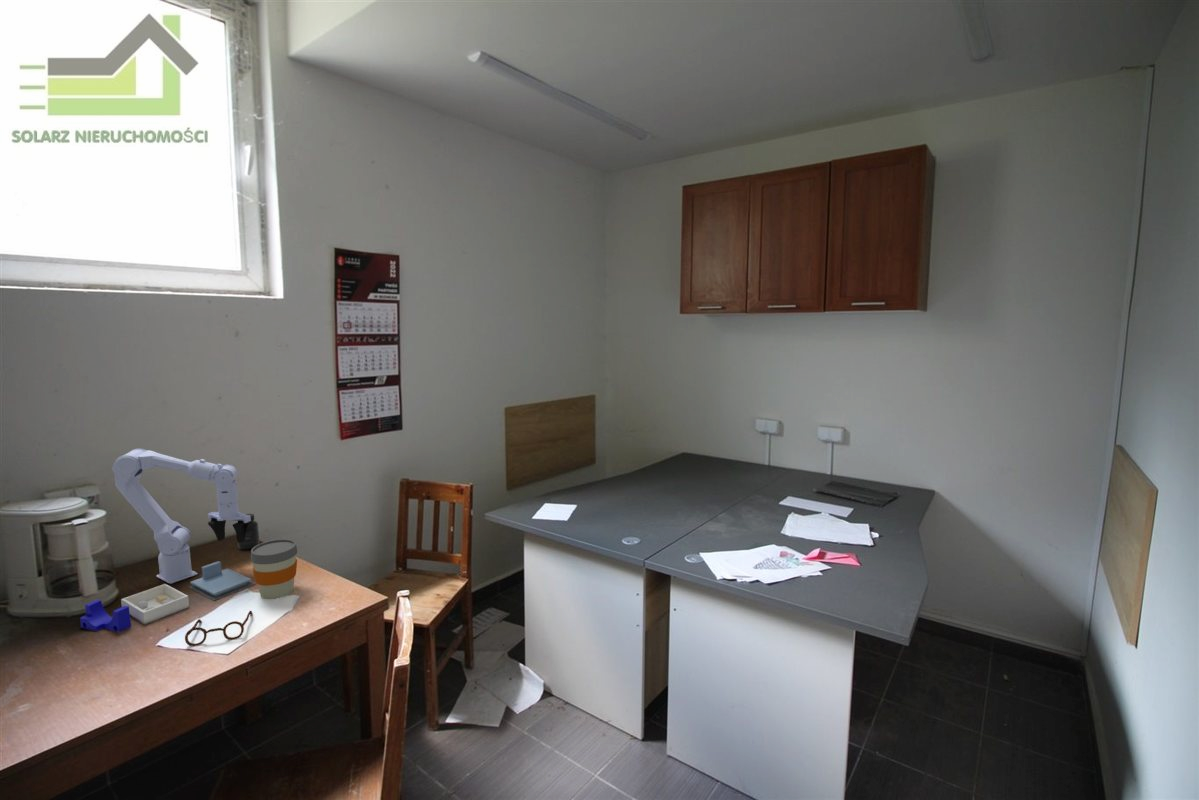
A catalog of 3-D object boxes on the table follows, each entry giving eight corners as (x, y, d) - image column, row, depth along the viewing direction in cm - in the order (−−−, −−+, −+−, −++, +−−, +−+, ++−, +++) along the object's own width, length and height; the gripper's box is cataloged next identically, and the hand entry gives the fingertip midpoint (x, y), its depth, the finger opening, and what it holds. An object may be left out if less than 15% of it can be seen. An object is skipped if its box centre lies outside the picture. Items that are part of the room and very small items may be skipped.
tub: (122, 610, 161) (120, 599, 160) (166, 594, 170) (165, 583, 170) (144, 624, 154) (143, 612, 153) (189, 606, 163) (188, 595, 163)
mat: (189, 588, 174) (189, 586, 174) (229, 573, 185) (229, 572, 184) (214, 601, 167) (214, 599, 167) (255, 584, 177) (254, 583, 177)
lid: (190, 586, 174) (189, 569, 174) (228, 572, 184) (226, 557, 183) (214, 598, 168) (212, 581, 167) (251, 583, 177) (250, 567, 176)
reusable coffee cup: (303, 580, 181) (300, 537, 179) (295, 599, 169) (292, 553, 167) (259, 585, 177) (256, 541, 175) (248, 605, 165) (244, 557, 163)
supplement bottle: (264, 543, 208) (261, 513, 207) (251, 550, 202) (248, 519, 200) (247, 542, 209) (244, 512, 207) (233, 549, 202) (230, 518, 201)
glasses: (185, 649, 144) (183, 631, 143) (200, 623, 156) (198, 606, 155) (243, 639, 149) (242, 622, 148) (253, 614, 161) (252, 598, 160)
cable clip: (81, 627, 152) (78, 607, 151) (99, 619, 156) (97, 599, 155) (113, 635, 149) (110, 614, 148) (131, 626, 153) (128, 606, 152)
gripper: (198, 504, 181) (202, 543, 183) (237, 507, 178) (240, 547, 180) (216, 497, 187) (220, 535, 190) (254, 500, 185) (257, 539, 187)
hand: (231, 540), depth 185 cm, fingers open, 7 cm apart
